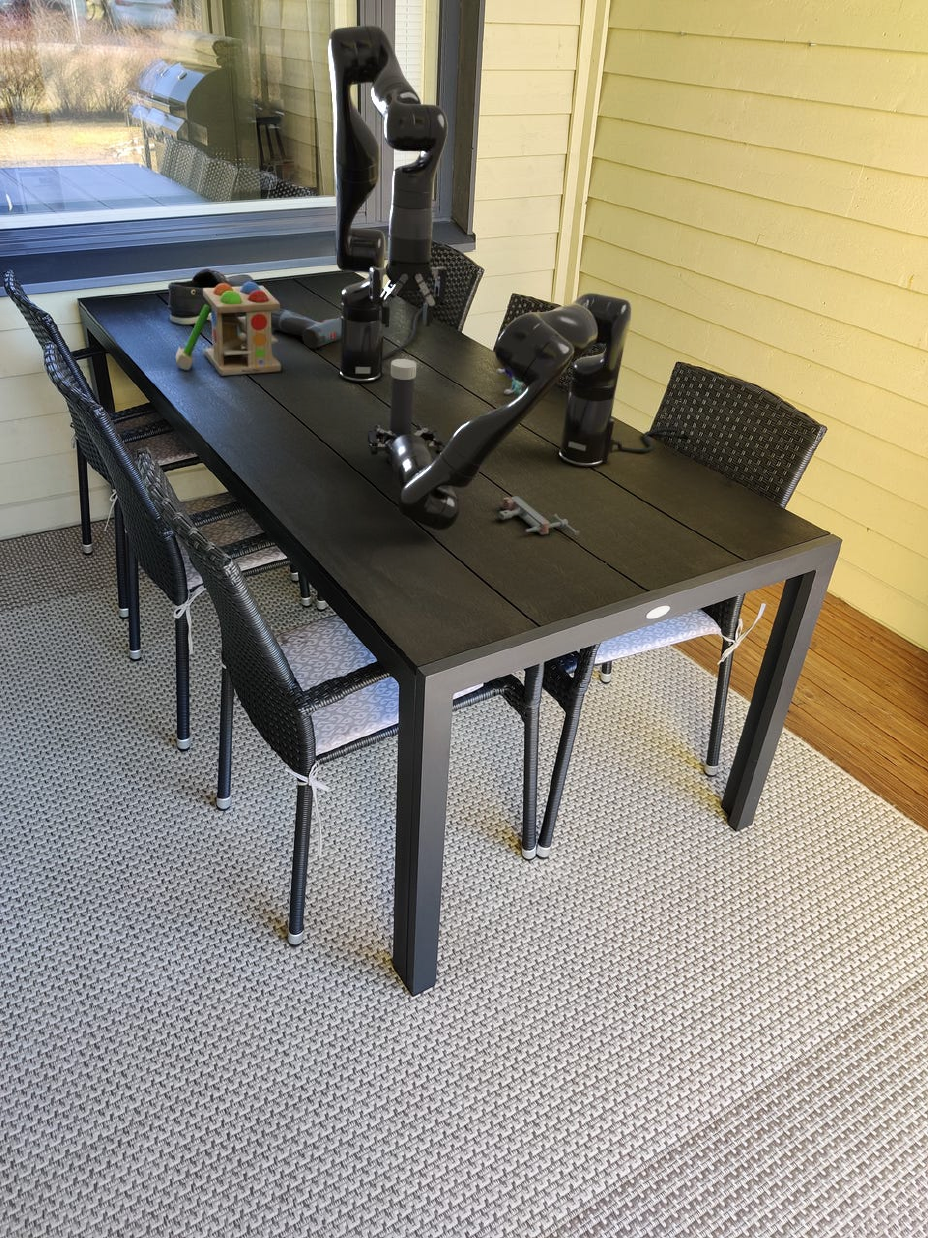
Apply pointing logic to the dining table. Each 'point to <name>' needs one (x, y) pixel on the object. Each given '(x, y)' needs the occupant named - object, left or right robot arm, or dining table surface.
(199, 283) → the boat shoe
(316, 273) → the dining table surface
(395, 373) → the lid
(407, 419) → the bottle
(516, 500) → the clamp
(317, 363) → the dining table surface
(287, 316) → the power drill
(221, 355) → the pounding bench toy
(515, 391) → the molecular model
